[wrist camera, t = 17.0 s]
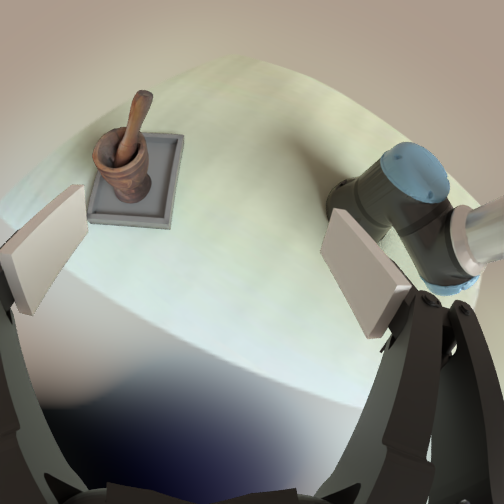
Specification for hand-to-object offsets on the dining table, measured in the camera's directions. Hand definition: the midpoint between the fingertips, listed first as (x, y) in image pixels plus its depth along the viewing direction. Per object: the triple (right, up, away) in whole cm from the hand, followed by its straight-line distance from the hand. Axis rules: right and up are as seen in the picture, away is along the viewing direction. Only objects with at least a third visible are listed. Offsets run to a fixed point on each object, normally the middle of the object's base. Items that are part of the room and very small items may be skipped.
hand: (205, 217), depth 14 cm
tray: (-20, +12, +36) cm, 43 cm away
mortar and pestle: (-20, +12, +35) cm, 42 cm away
